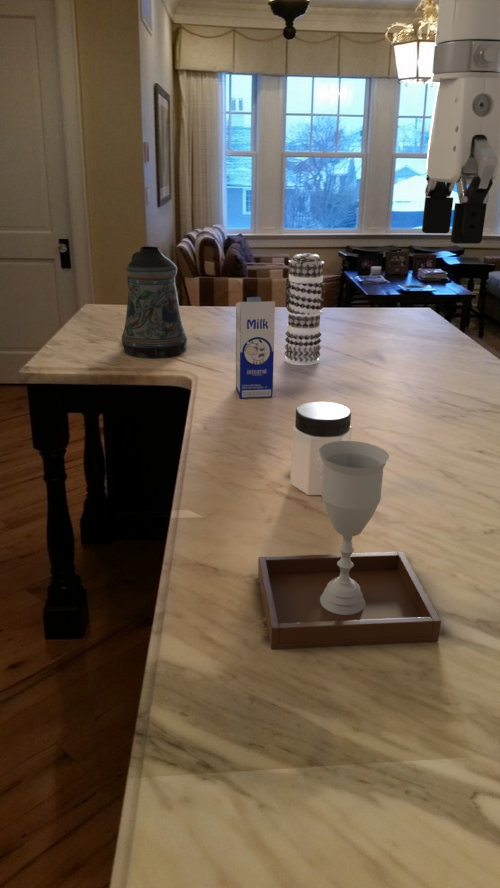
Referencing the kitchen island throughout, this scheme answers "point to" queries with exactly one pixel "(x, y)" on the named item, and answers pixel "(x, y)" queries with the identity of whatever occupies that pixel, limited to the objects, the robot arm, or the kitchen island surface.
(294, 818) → the kitchen island surface
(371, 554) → the tray
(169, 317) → the beer stein
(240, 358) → the milk carton
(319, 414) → the jar
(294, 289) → the decorative candle
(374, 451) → the chalice
